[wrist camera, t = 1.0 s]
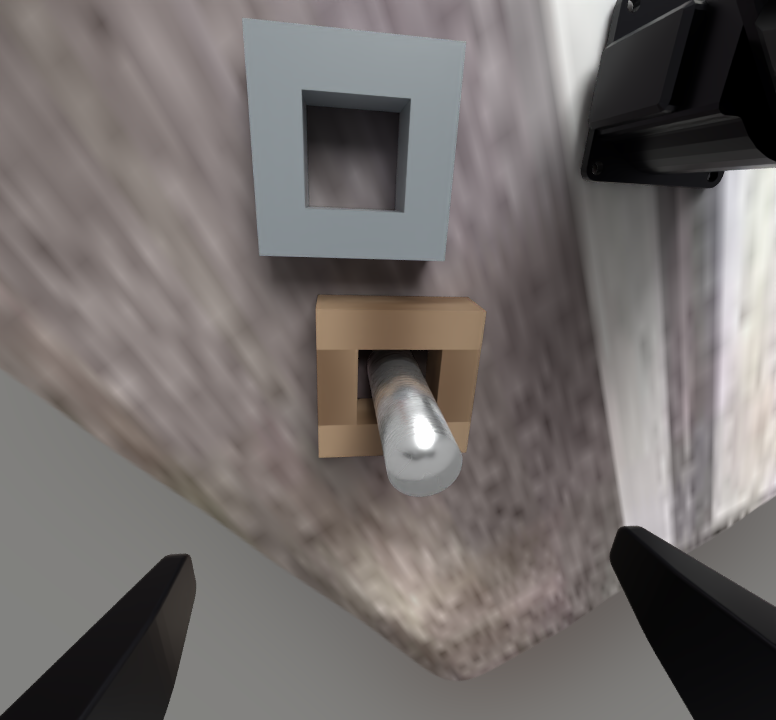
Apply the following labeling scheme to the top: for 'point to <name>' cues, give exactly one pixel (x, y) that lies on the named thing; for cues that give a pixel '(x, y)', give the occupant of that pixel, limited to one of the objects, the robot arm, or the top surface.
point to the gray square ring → (354, 91)
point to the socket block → (393, 332)
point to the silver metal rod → (411, 426)
